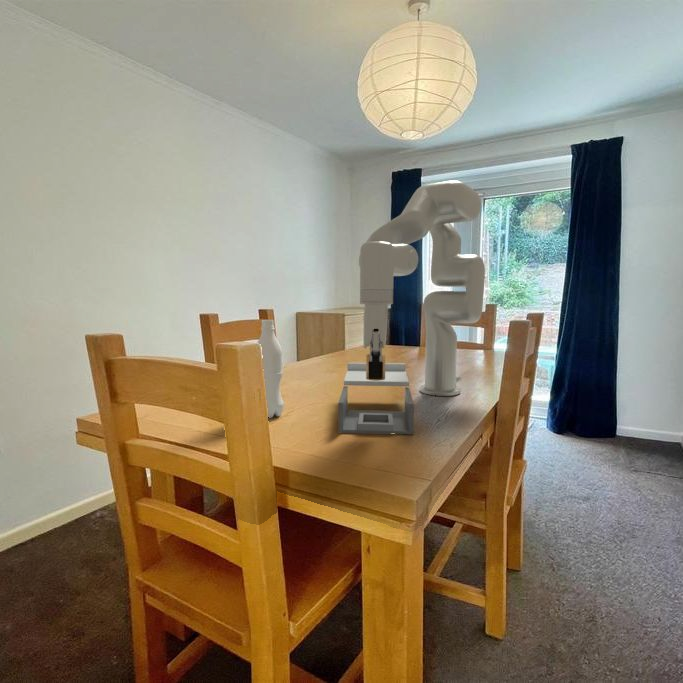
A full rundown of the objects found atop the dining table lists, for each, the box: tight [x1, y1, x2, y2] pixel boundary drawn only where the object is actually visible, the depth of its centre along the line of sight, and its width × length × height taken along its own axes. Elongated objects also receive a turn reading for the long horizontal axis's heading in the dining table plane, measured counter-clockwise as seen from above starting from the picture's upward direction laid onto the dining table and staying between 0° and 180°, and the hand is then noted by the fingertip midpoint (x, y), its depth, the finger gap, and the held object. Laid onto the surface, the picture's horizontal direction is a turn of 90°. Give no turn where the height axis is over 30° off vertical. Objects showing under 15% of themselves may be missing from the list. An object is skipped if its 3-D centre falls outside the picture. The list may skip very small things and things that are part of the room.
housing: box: [337, 385, 415, 435], centre depth 100 cm, size 15×17×7 cm
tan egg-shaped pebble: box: [365, 353, 386, 381], centre depth 95 cm, size 4×4×6 cm
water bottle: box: [257, 319, 285, 419], centre depth 105 cm, size 7×7×25 cm
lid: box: [343, 362, 410, 387], centre depth 114 cm, size 15×17×3 cm
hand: (375, 375), depth 95 cm, fingers closed on tan egg-shaped pebble, 4 cm apart
